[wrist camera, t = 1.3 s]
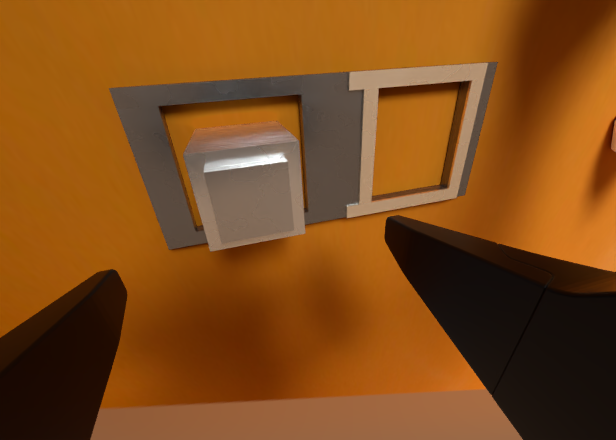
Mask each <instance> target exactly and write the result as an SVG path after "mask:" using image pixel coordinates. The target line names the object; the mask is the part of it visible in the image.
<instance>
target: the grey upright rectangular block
mask: <svg viewBox="0 0 616 440" xmlns="http://www.w3.org/2000/svg"><path fill="white" fill-rule="evenodd" d="M183 156H184V160H185V163H186V167H187V170H188V174H189V178H190V181H191V185H192V188H193V192H194V195H195V199H196V202H197V206H198V209H199V213H200V216H201V220H202V223H203V227H204V230H205V234H206V238H207V241H208V245H209V248H210V252H211V251H216V250H222V249H227V248H232V247H237V246H242V245H248V244H253V243H258V242H263V241H268V240H274V239H279V238H284V237H289V236H295V235H300V234H305V222H304V207H303V193H302V179H301V165H300V150H299V140H297V139H296V138H295V137H294V136H293V135H292V134H291V133H290V132H289V131H288V130H287V129H285V128H284V127H283V126H282V125H281V124H280V123H279V122H278V121H270V122H261V123H251V124H241V125H231V126H221V127H212V128H202V129H195V131H194V133H193V135H192V137H191V139H190V141H189V143H188V145H187V147H186V149H185V152H184V154H183Z"/></svg>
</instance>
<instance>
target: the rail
mask: <svg viewBox="0 0 616 440" xmlns="http://www.w3.org/2000/svg"><path fill="white" fill-rule="evenodd" d="M497 63H498V62H485V63H470V64H455V65H441V66H426V67H411V68H397V69H382V70H367V71H353V72H338V73H323V74H308V75H294V76H279V77H264V78H250V79H235V80H220V81H206V82H191V83H176V84H162V85H147V86H132V87H117V88H109V90H110V92H111V95H112V98H113V101H114V103H115V106H116V109H117V111H118V114H119V117H120V119H121V122H122V125H123V127H124V130H125V133H126V135H127V138H128V141H129V144H130V146H131V149H132V152H133V154H134V157H135V160H136V162H137V165H138V168H139V170H140V173H141V176H142V178H143V181H144V184H145V187H146V189H147V192H148V195H149V197H150V200H151V203H152V205H153V208H154V211H155V213H156V216H157V219H158V221H159V224H160V227H161V229H162V232H163V235H164V238H165V240H166V243H167V246H168V248H169V250H170V249H175V248H181V247H186V246H192V245H197V244H202V243H208V241H207V238H206V234H205V230H204V227H203V225H202V226H197V225H196V222H195V219H194V215H193V212H192V209H191V205H190V202H189V198H188V195H187V192H186V188H185V185H184V182H183V178H182V175H181V171H180V168H179V165H178V161H177V158H176V154H175V151H174V148H173V144H172V141H171V138H170V134H169V131H168V127H167V124H166V121H165V117H164V114H163V111H162V107H161V106H166V105H178V104H190V103H202V102H214V101H226V100H238V99H250V98H262V97H274V96H286V95H298V97H299V113H300V128H301V143H302V159H303V174H304V189H305V205H306V208H304V222H305V225H306V224H311V223H316V222H322V221H327V220H333V219H338V218H344V217H346V218H351V217H356V216H362V215H367V214H372V213H378V212H383V211H389V210H394V209H399V208H405V207H410V206H416V205H421V204H426V203H432V202H437V201H443V200H448V199H453V198H457V197H458V196H463V195H465V192H466V188H467V184H468V180H469V176H470V172H471V168H472V164H473V160H474V156H475V152H476V148H477V144H478V140H479V136H480V132H481V128H482V124H483V120H484V116H485V112H486V107H487V103H488V99H489V95H490V91H491V87H492V83H493V79H494V75H495V71H496V67H497ZM458 81H461V84H460V89H459V94H458V99H457V104H456V109H455V114H454V119H453V124H452V129H451V135H450V140H449V145H448V150H447V155H446V160H445V165H444V170H443V175H442V180H441V185H435V186H429V187H424V188H418V189H412V190H406V191H400V192H394V193H389V194H383V195H377V196H372V184H373V169H374V154H375V139H376V123H377V108H378V93H379V88H386V87H398V86H410V85H422V84H434V83H446V82H458Z"/></svg>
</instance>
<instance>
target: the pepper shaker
mask: <svg viewBox="0 0 616 440" xmlns="http://www.w3.org/2000/svg"><path fill="white" fill-rule="evenodd" d="M611 149H612V150H613V151H615V152H616V120H615V123H614V130H613V136H612V143H611Z"/></svg>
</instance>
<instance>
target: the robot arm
mask: <svg viewBox="0 0 616 440" xmlns="http://www.w3.org/2000/svg"><path fill="white" fill-rule="evenodd" d="M385 242H386V244H387V245H388V247H389V249H390V251H391V253H392V254H393V256H394V258H395V260H396V261H397V263H398V265H399V267H400V268H401V270H402V272H403V273H404V275H405V276H406V278H407V279H408V281H409V282H410V284H411V285H412V286H413V288H414V289H415V290H416V292H417V293H418V295H419V296H420V297H421V299H422V300H423V301H424V303H425V304H426V306H427V307H428V308H429V310H430V311H431V313H432V314H433V315H434V317H435V318H436V319H437V321H438V322H439V324H440V325H441V326H442V328H443V329H444V331H445V332H446V333H447V335H448V336H449V337H450V339H451V340H452V342H453V343H454V344H455V346H456V347H457V349H458V350H459V351H460V353H461V354H462V355H463V357H464V358H465V360H466V361H467V362H468V364H469V365H470V367H471V368H472V369H473V371H474V372H475V373H476V375H477V376H478V378H479V379H480V380H481V382H482V383H483V385H484V386H485V387H486V389H487V390H488V391H489V393H490V394H491V395H492V397H493V398H494V400H495V401H496V403H497V404H498V406H499V407H500V408H501V410H502V411H503V413H504V414H505V415H506V416H507V418H508V419H509V421H510V422H511V424H512V425H513V426H514V428H515V429H516V430H517V432H518V433H519V435H520V436H521V437H522V439H523V440H616V272H612V271H607V270H602V269H598V268H594V267H590V266H585V265H581V264H577V263H573V262H568V261H564V260H560V259H556V258H552V257H548V256H544V255H539V254H535V253H531V252H528V251H524V250H520V249H517V248H513V247H509V246H506V245H502V244H497V243H495V242H491V241H488V240H484V239H481V238H477V237H474V236H470V235H467V234H463V233H460V232H456V231H452V230H449V229H445V228H442V227H438V226H435V225H431V224H428V223H424V222H421V221H417V220H414V219H410V218H407V217H403V216H399V215H396V216H390V217H388V218H387V220H386V226H385ZM126 301H127V290H126V288H125V286H124V284H123V282H122V280H121V278H120V276H119V274H118V272H117V271H116V270H113V269H110V270H105V271H100V272H97V273H96V274H94V275H93V276H91V277H90V278H88V279H87V280H85V281H84V282H82V283H81V284H80V285H78V286H77V287H75V288H74V289H72V290H71V291H69V292H68V293H66V294H65V295H63V296H62V297H60V298H59V299H57V300H56V301H54V302H53V303H51V304H50V305H48V306H47V307H45V308H44V309H42V310H41V311H39V312H38V313H37V314H35V315H34V316H32V317H31V318H29V319H28V320H26V321H25V322H23V323H22V324H20V325H19V326H17V327H16V328H14V329H13V330H11V331H10V332H8V333H7V334H5V335H4V336H2V337H1V338H0V440H90V438H91V435H92V431H93V428H94V425H95V422H96V418H97V415H98V411H99V409H100V405H101V402H102V399H103V395H104V392H105V389H106V385H107V382H108V379H109V375H110V372H111V369H112V365H113V362H114V359H115V355H116V352H117V348H118V345H119V341H120V336H121V330H122V324H123V319H124V313H125V307H126Z"/></svg>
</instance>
